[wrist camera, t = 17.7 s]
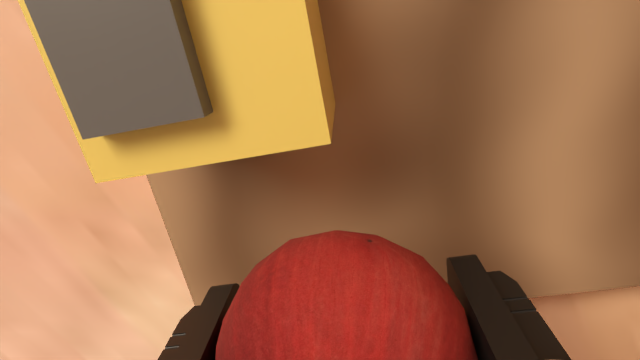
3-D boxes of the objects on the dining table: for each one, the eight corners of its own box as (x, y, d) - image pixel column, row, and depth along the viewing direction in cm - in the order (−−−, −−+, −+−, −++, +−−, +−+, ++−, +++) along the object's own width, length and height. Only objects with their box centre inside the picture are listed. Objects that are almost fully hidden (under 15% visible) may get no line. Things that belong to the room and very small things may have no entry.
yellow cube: (302, -88, 10) (265, -200, 5) (335, 103, 11) (329, 151, 7) (124, -45, 10) (-55, -109, 6) (181, 131, 12) (79, 192, 7)
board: (961, -334, 8) (1057, -391, 7) (775, 312, 15) (810, 335, 13) (70, -97, 11) (39, -112, 10) (233, 365, 17) (225, 388, 16)
